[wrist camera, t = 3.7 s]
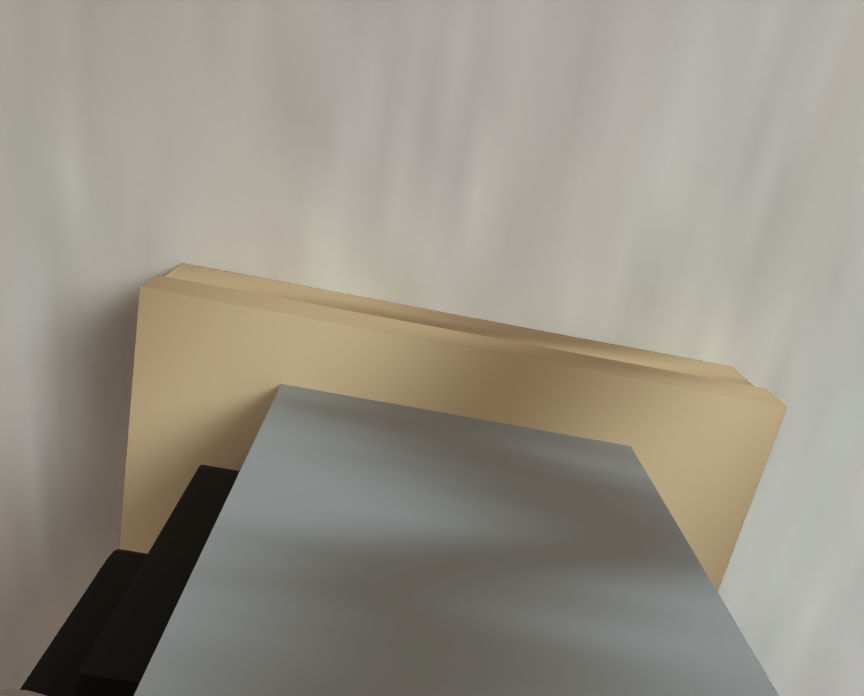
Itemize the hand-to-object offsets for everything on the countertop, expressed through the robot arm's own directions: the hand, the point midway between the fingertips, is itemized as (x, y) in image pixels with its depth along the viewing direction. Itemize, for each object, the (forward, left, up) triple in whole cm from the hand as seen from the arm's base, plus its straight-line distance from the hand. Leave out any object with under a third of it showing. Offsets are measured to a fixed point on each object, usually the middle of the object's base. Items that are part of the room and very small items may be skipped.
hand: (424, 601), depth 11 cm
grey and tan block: (0, 0, -3) cm, 3 cm away
